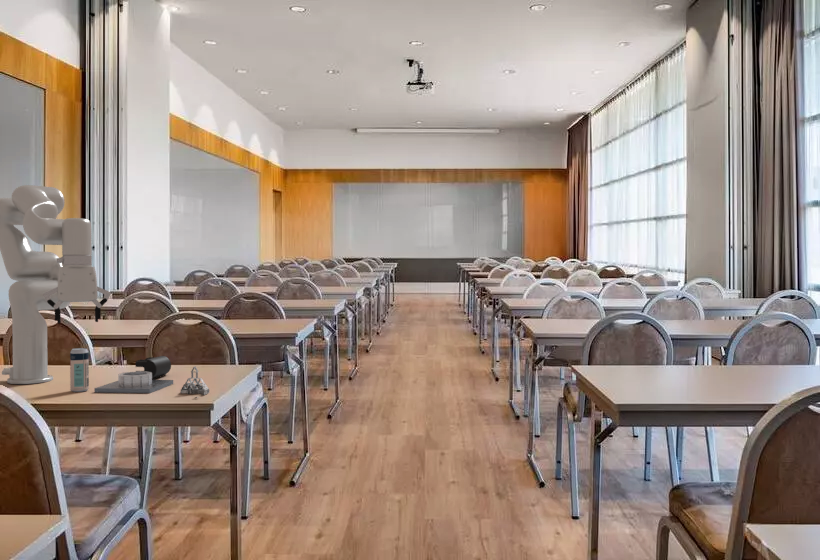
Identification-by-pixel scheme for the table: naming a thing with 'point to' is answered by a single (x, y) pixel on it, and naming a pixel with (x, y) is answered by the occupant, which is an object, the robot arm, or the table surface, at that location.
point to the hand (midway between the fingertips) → (78, 322)
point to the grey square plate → (134, 383)
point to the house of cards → (195, 388)
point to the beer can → (79, 370)
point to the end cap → (155, 365)
